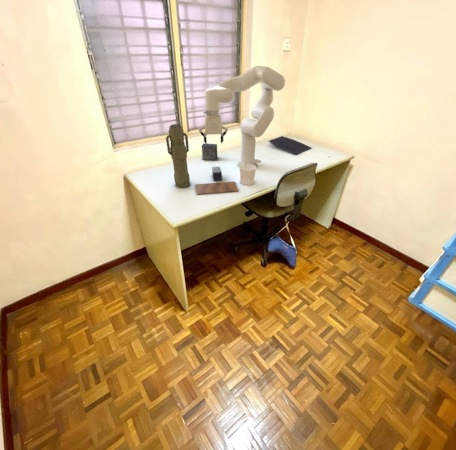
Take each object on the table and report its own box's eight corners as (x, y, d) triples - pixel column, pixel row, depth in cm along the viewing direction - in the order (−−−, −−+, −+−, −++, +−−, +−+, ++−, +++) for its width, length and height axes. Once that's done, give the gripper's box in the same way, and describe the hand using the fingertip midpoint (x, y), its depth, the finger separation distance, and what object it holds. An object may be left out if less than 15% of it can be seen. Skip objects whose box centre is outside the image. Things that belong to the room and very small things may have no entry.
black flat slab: (282, 138, 226) (283, 134, 223) (311, 150, 211) (312, 146, 209) (265, 144, 212) (266, 140, 209) (295, 158, 197) (296, 154, 195)
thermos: (170, 184, 153) (161, 125, 133) (187, 179, 159) (181, 121, 139) (177, 190, 148) (168, 129, 127) (194, 184, 154) (189, 125, 133)
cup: (254, 186, 153) (255, 171, 147) (238, 185, 154) (238, 170, 148) (256, 179, 161) (257, 164, 155) (240, 178, 162) (241, 163, 156)
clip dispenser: (220, 175, 165) (219, 166, 162) (221, 180, 159) (221, 171, 155) (212, 175, 164) (212, 167, 161) (213, 181, 158) (213, 172, 155)
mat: (234, 182, 157) (234, 181, 157) (238, 191, 147) (238, 190, 147) (196, 185, 153) (195, 184, 153) (197, 194, 144) (197, 193, 143)
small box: (217, 157, 191) (217, 143, 185) (216, 160, 185) (215, 146, 179) (204, 156, 191) (203, 143, 185) (202, 159, 186) (201, 145, 180)
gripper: (198, 114, 139) (199, 145, 149) (228, 114, 141) (228, 144, 151) (197, 111, 145) (199, 141, 155) (226, 111, 147) (226, 140, 157)
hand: (213, 143), depth 153 cm, fingers open, 9 cm apart
